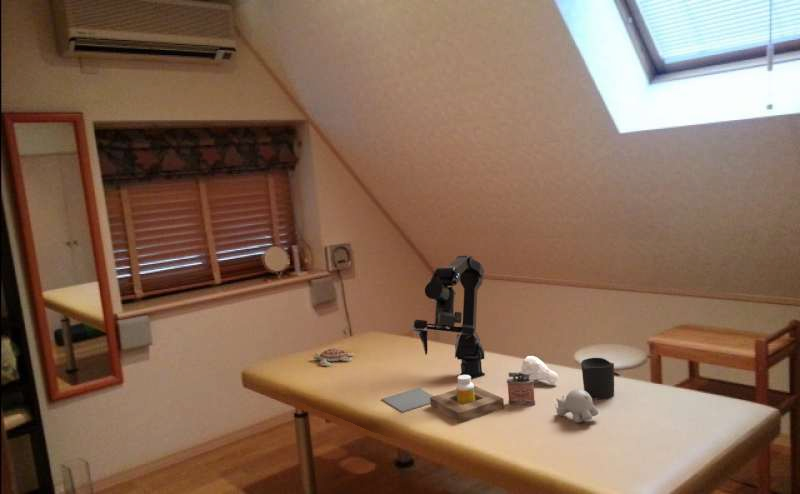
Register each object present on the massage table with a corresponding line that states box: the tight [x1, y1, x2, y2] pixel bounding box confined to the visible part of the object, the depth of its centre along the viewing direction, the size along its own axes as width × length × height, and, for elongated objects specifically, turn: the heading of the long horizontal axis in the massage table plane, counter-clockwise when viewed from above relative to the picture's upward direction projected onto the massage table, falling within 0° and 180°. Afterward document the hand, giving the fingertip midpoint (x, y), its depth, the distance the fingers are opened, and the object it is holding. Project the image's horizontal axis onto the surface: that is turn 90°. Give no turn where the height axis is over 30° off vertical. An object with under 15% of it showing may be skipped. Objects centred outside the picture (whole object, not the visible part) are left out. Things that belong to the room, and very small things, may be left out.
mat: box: [381, 387, 434, 414], centre depth 193 cm, size 14×14×1 cm
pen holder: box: [580, 357, 615, 400], centre depth 182 cm, size 9×9×10 cm
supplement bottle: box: [455, 374, 475, 405], centre depth 182 cm, size 5×5×10 cm
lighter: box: [506, 370, 536, 407], centre depth 181 cm, size 8×3×10 cm, turn 71°
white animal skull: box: [521, 355, 559, 386], centre depth 196 cm, size 6×8×12 cm
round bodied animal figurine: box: [554, 388, 599, 424], centre depth 167 cm, size 7×12×8 cm, turn 41°
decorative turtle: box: [312, 348, 355, 367], centre depth 244 cm, size 18×17×5 cm
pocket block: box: [430, 385, 505, 424], centre depth 182 cm, size 16×16×3 cm
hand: (441, 356), depth 183 cm, fingers open, 9 cm apart
